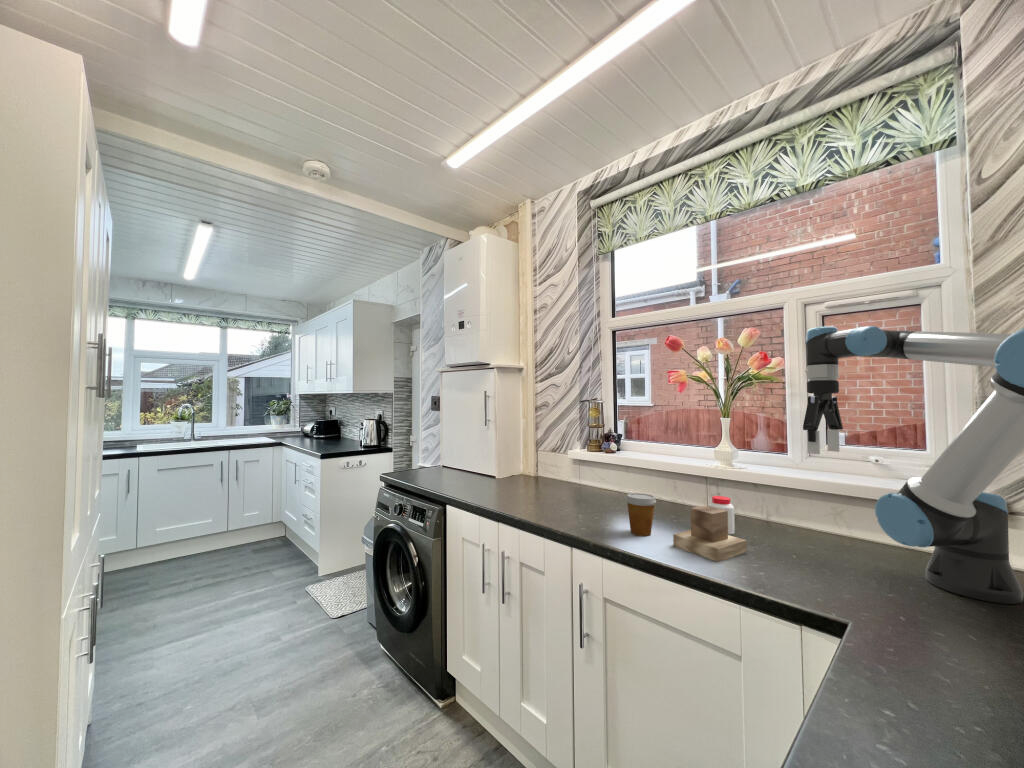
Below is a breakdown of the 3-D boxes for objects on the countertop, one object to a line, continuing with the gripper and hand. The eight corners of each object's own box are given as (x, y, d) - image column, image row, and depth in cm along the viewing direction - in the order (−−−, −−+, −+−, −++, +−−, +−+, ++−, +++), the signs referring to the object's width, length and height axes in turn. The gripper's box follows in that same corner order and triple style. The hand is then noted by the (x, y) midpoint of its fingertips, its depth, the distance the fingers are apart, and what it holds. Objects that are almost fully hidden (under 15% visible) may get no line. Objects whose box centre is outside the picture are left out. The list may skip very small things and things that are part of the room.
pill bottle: (732, 536, 131) (731, 501, 132) (706, 531, 136) (706, 497, 136) (736, 530, 137) (735, 497, 138) (711, 525, 142) (711, 494, 143)
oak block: (746, 554, 117) (746, 540, 117) (718, 564, 109) (718, 549, 110) (701, 540, 129) (701, 527, 129) (673, 547, 121) (673, 534, 121)
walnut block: (727, 538, 118) (727, 511, 118) (712, 542, 115) (712, 513, 115) (706, 532, 124) (705, 505, 124) (691, 535, 121) (690, 508, 121)
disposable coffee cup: (652, 529, 137) (652, 493, 138) (659, 538, 127) (659, 500, 128) (623, 528, 138) (623, 492, 138) (628, 537, 128) (628, 498, 129)
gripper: (825, 382, 130) (826, 449, 129) (788, 378, 116) (789, 453, 115) (854, 381, 124) (856, 451, 123) (819, 377, 110) (820, 456, 109)
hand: (823, 452), depth 119 cm, fingers open, 13 cm apart
